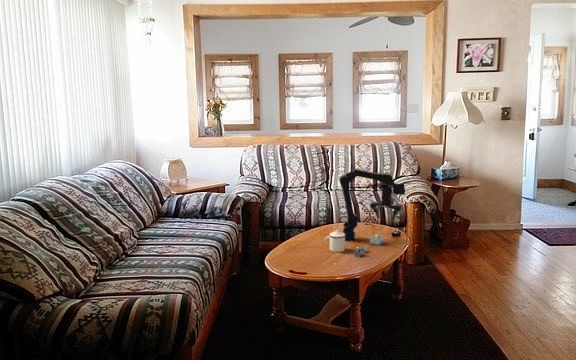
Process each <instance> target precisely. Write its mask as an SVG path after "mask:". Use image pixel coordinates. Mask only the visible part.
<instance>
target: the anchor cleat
mask: <svg viewBox="0 0 576 360" xmlns="http://www.w3.org/2000/svg"><path fill="white" fill-rule="evenodd" d="M360 247H361V246H357V248H356V249H357V250H355V251H354V257H357V258H361V257H362V256H363V255H364V253H363V250H360Z"/></svg>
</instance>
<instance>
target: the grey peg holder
mask: <svg viewBox="0 0 576 360" xmlns="http://www.w3.org/2000/svg"><path fill="white" fill-rule="evenodd" d="M374 235H375V238H379V236H380V234H377V233H376V234H374ZM384 243H385V241H384V240H383V243H382V244H380V245H378V244H371V243H370V242H369V246H376V247H377V246H378V247H383V246H384V245H385V244H384Z"/></svg>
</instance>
